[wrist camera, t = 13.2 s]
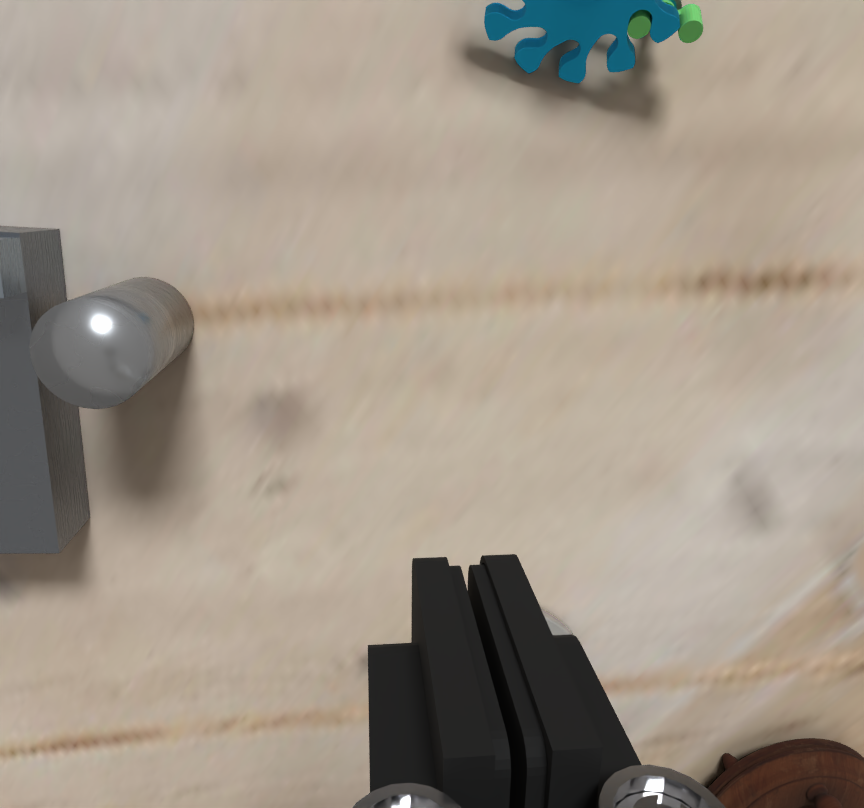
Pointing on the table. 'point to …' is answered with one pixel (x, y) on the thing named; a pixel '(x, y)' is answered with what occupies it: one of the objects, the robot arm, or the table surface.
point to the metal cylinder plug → (110, 341)
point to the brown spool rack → (793, 777)
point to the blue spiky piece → (591, 29)
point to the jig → (35, 406)
